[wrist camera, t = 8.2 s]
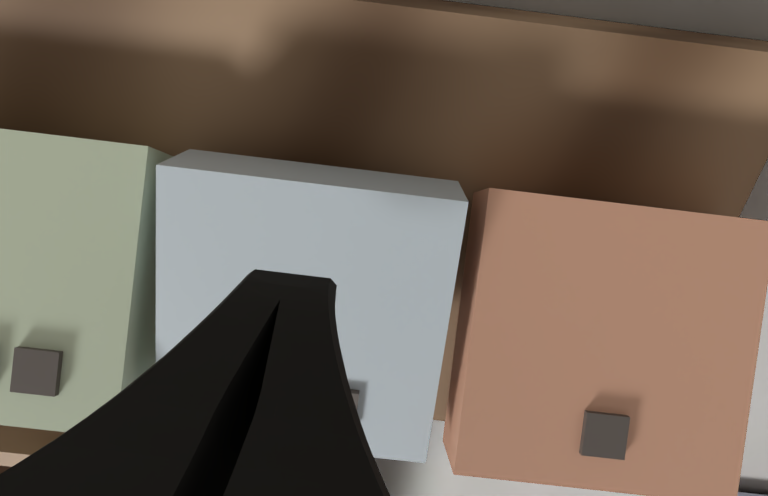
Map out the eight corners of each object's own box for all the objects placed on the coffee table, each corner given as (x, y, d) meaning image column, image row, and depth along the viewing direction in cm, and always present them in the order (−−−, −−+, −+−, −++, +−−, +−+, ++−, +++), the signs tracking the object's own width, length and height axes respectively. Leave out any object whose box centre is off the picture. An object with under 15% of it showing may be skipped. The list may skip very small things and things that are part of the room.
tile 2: (458, 181, 14) (469, 203, 12) (421, 412, 15) (426, 467, 13) (189, 148, 13) (152, 165, 11) (185, 385, 15) (152, 437, 13)
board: (786, 43, 14) (907, 102, 10) (520, 624, 28) (535, 731, 24) (-111, -70, 13) (-292, -47, 10) (79, 579, 27) (32, 680, 24)
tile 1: (721, 222, 15) (781, 222, 12) (687, 467, 15) (740, 509, 13) (473, 192, 14) (490, 187, 12) (442, 440, 15) (454, 477, 12)
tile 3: (179, 158, 14) (145, 144, 12) (151, 409, 14) (112, 440, 12) (-78, 128, 14) (-158, 108, 12) (-104, 382, 14) (-188, 407, 12)
